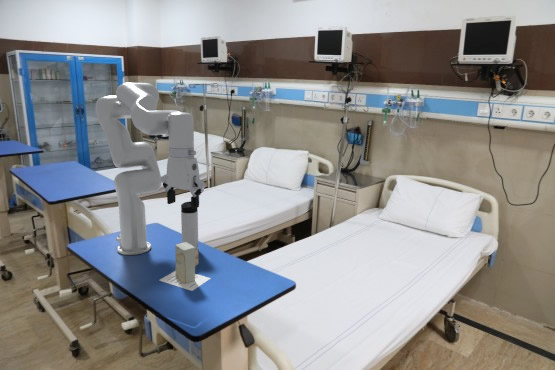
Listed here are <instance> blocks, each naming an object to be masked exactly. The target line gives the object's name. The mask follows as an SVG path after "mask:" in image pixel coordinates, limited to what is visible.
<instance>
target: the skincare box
mask: <svg viewBox="0 0 555 370" xmlns="http://www.w3.org/2000/svg"><path fill="white" fill-rule="evenodd" d="M174 246H175V249H174V250H175V251H174V253H175V271H176V278H177V279H178V280H179V281H181V282H182V283H183V284H186V283H189V282H192V281H195V274H196V266H195V247H194V246H192V245H191V244H189V243H187V242H183V243H182V242H180V243H176V244H175V245H174Z"/></svg>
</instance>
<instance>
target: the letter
mask: <svg viewBox="0 0 555 370" xmlns="http://www.w3.org/2000/svg"><path fill="white" fill-rule="evenodd" d="M211 279H212V278H211V277H207V276H204V275H202V274H197V273H195V281H192V282H189V283H186V284H183V283H182V282H181V281H179V280H178V279H177V278H176V270H174V271H172V272H171V273H169V274H167V275H165V276H163V277H162V278H160V279H159V280H158V281H160V282H163V283H165V284H168V285H172V286H176V287H178V288H181V289H185V290H188V291H191V292H193V291H195V290H196V289H197V288H199V287H200V286H202V285H203V284H205V283H206V282H208V281H209V280H211Z"/></svg>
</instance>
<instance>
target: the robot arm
mask: <svg viewBox="0 0 555 370" xmlns="http://www.w3.org/2000/svg"><path fill="white" fill-rule="evenodd" d="M159 99H160V94H159V91H158V88H157V87H156V86H155V85H154V84H152V83H148V82H123V83H121V84H120V85H118V87H117V88H116V91H115V95H107V96H106V95H105V96H102V97H100V98H99V99H97V100H96V102H95V115H96V118H97V121H98V123H99V125H100V127H101V129H102V130H103V133H104V134H105V138H106V142H107V144H108V149H109V150H108V151H109V153H110V156H111V159H112V162H113V165H114V166H115V168H118V169H130V168H137V167H138V168H139V167H141V169H132V170H126V171H122V172H119V173H118V174H116V176H115V177H114V180H113V183H114V189H115V192H116V197H117V203H118V205H117V206H118V215H119V216H118V217H119V229H120V232H119V233H120V234H119V235H118V236H117V237H115V241H117V242H119V245H118V246H117V252H118V254H121V255H125V256H135V255H140V254H144V253H147V252H148V251H150V250H151V248H152V244H151V242H149V241H147V240H148V239H147V221H146V220H147V219H146V206H145V203H144V202H143V200H141V198H140V197H139V195H140V196H141V195H143V194H149V193H154V192H157V191H159V190H161V187H162V186H163V188H164V191H165V193H166V200H167V203H166V204H168V205H171V204H173V203H176V190H175V189H177V190H185V191H189V193H190V194H191V196H190V201H191V208H192V209H195V208H197V209H198V208H199V207H200V196H201V195H202V193H203V192H204V190H205V187H206V183H205V182H204V181H203V180H202V179H201V178H200V170H199V163H198V159H197V157H195V156H196V155H197V151H196V150H195V143H194V142H195V140H194V139H195V138H194V137H195V136H194V135H195V134H194V133H195V132H194V131H195V130H194V128H195V127H194V116H193V114H192V113H189V112H184V111H183V112H182V111H180V110H176V109H174V110H171V109H170V110H167V109H165V110H161V109H160V110H157V107H158V103H159ZM119 119H131V121H132V124H133V126H134V127H135V128H136V129H137V130H138V131H140V132H142V133H143V134H145V135H148V136H160V135H161V136H162V135H168V152H169V153H168V154H169V156H168V157H167V163H166V173H165V174H164V175H161V172H160V168H159V163H158V159H157V157H156V154H155V150H154V148H153V147H152V145H151V144H150V143H148V142H146V141H137V142H135V141H134V142H133V140H132V138H131V134H130V131H129V129H128V127H126V126H125V125H124V124H123V123H122V122H121V121H120V120H119Z"/></svg>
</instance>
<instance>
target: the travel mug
mask: <svg viewBox="0 0 555 370" xmlns="http://www.w3.org/2000/svg"><path fill="white" fill-rule="evenodd" d="M180 210H181V211H180V215H181V216H180V218H181V220H180V221H181V223H180V224H181V243H183V242H187V243H189V244H191V245H192V246H194V247H195V249H197V250H198V251H199V214H198V208H195V209H192V208H191V200H190V201H185V202H183V203H182V204H181V205H180Z"/></svg>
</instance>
